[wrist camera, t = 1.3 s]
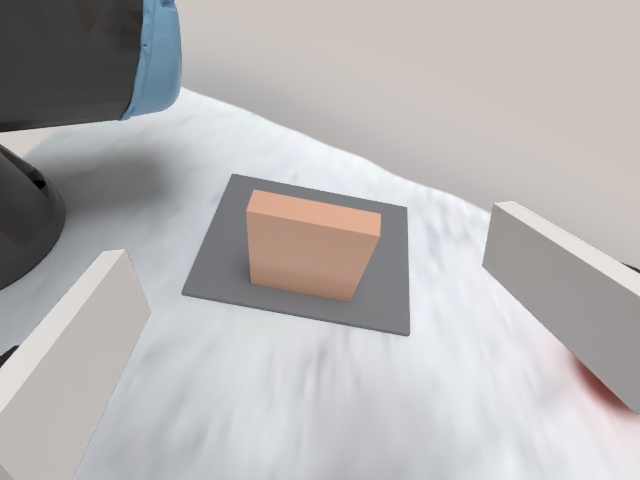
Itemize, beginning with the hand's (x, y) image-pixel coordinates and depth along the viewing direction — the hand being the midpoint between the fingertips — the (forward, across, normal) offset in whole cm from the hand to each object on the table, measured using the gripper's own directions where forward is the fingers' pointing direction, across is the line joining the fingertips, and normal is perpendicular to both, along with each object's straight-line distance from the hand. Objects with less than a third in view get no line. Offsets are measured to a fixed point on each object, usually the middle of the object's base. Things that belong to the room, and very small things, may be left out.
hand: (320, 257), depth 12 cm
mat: (+19, +1, -10) cm, 22 cm away
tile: (+15, 0, -12) cm, 19 cm away
